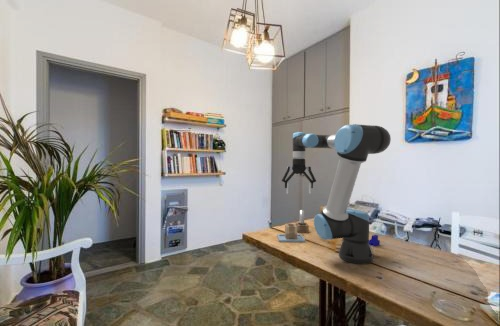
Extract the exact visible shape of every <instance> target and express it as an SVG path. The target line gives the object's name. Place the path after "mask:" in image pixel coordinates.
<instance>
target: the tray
mask: <svg viewBox="0 0 500 326" xmlns="http://www.w3.org/2000/svg"><path fill="white" fill-rule="evenodd" d="M276 238H277V239H278V243H306V242H307V241H306V239H305V236H303V234H302V233H297V240H286V238H285V233H278V234H276Z"/></svg>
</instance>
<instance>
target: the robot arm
mask: <svg viewBox="0 0 500 326" xmlns="http://www.w3.org/2000/svg"><path fill="white" fill-rule="evenodd" d="M391 141H392V140H391V134H390V132H389V131H388V130H387V129H386V128H384V127H382V126H380V125H372V124H371V125H370V124H359V123H358V124H357V123H355V124H354V123H353V124H345V125H343V126H342V127H340V128H339V129H338V130H337V132H336V133H335V134H315V133H306V132H304V131H303V132H301V131H297V132H294V133H292V166H287V167H286V171H285V173H284V175H283V177H282V179H281V182H282V183H284V189H286V191H285V193H286V194H287V195H288V194H289V185H290V184H289V182H290V180H291V178H292V177H293V176H294V175H295V174H296V175H298V174H299V175H304V176H305V179H307V180H308V181H309V183H308V194H309V195H312V189H313V188H314V183H316V182H317V179H316V177H315V176H314V173H313V171H312V167H311V166H306V149H308V148H309V149H310V148H311V149H335V152H336V156H337V157H338V163H337V167H336V170H335V174H334V178H333V181H332V185H331V189H330V193H329V195H328V200H327V203H326V205H323V206H324V207H323V208H322V212H321V214H320V213H318V214H315V215H314V217H313V226H314V229H315V233H316V234H317V235H318V236H319V238H320V239H322V240H324V241H325V240H336V239H338V240H339V239H342V241H341V244H340V247H339V249H338V256H339V258H340V259H342V260H343V261H345V262H349V263H352V264H359V265H366V264H371V263H373V262H374V255H373V251H372V248H371V245H369V240H370V215H369V214H368V212H366V211H364V210H361V209H360V210H358V209H354V208H348V207H349V203H350V201H351V196H352V194H353V191H354V187H355V185H356V184H355V183H356V180H357V178H358V174H359V171H360V168H361V165H362V164H363V163H366V162H367V159H368V157H369V155H374V154H376V155H377V154H381V153H382V152H384V151H386V150H387V149H388V148H389V146H390V144H391ZM291 170H292V172H291V173H290V174H289V172H290V171H291ZM306 170H307V171H308V173H309V175H310V176H309V175H308V173H307V172H306ZM288 175H289V176H288Z"/></svg>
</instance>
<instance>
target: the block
mask: <svg viewBox="0 0 500 326" xmlns="http://www.w3.org/2000/svg"><path fill="white" fill-rule="evenodd" d="M284 234H285V238H286V240H297V234H298V233H297V226H296V223H285V224H284Z"/></svg>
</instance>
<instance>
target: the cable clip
mask: <svg viewBox="0 0 500 326" xmlns="http://www.w3.org/2000/svg"><path fill="white" fill-rule="evenodd" d="M380 243H381V242H380V240H379V235H377V234H373V235H371V238H370V239H369V245H370V247H371V246H373V247H379V246H380Z"/></svg>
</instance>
